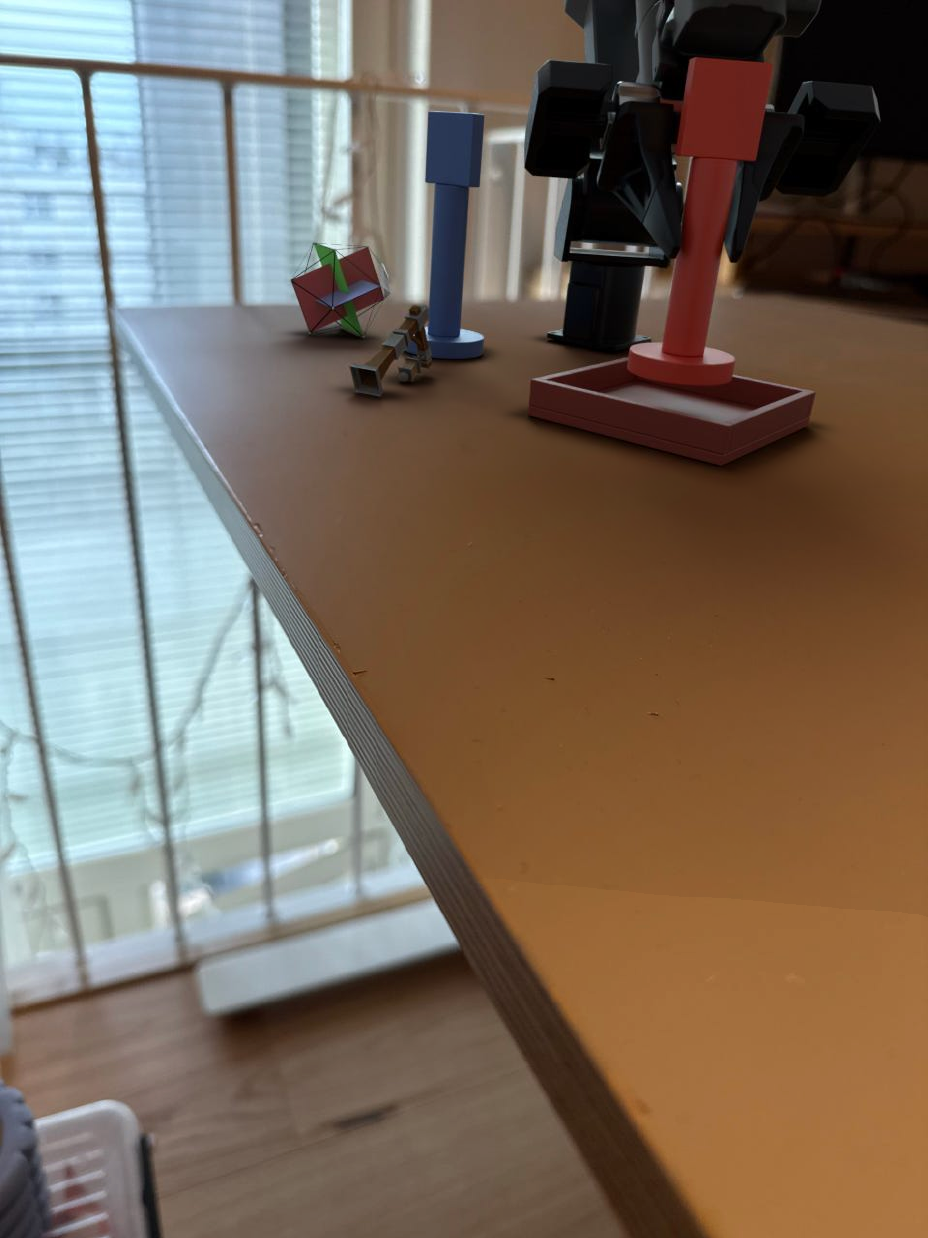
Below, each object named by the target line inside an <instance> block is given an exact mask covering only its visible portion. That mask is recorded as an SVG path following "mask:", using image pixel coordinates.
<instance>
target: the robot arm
mask: <svg viewBox="0 0 928 1238" xmlns="http://www.w3.org/2000/svg"><path fill="white" fill-rule="evenodd" d="M562 1H563V11H564V12H565V14H566V15H567V16H568V17H569V18H570V19H571V20H572V21H573V22H574V23H575V24H576V25H578V26H579V27H580V28H581V29H582V30H583V37H584V38H583V40H584V59H585V61H573V60H561V59H551V58H550V59H548V60H547V61H545V62H544V63H543V64H542V65H541V66H540V67H539V69H537V70H536V71H535V75H534V81H533V85H532V91H531V97H530V103H529V108H528V114H527V119H526V125H525V130H524V131H525V132H524V141H523V169H524V170H525V171H527V172H528V173H529V174H530V175H531V176H532V177H541V178H555V179H567V181H566V184H565V188H564V193H563V197H562V201H561V204H560V209H559V213H558V217H557V221H556V225H555V231H554V248H553V256H554V258H556V259H557V260H558V261H560V262H561V263H568V262H570V269H569V278H568V283H567V285H566V286H567V287H566V295H565V305H564V313H563V322H562V329H555V330H549V331H547V332H546V339H550V340H555V341H560V342H564V343H570V344H574V345H579V346H583V347H589V348H594V349H599V350H604V351H609V352H617V351H621V350H622V351H623V350H626V349H630V347H631V346H633V345H636V344H640V343H651V342H652V339H653V338H652V337H651V336H647V335H642V334H636V333H637V328H638V327H637V326H638V322H639V321H638V320H639V314H640V306H641V300H642V299H641V298H642V294H643V293H642V292H643V286H644V278H645V272H646V267H653V268H654V267H655V268H659V269H663V270H667V269H668V268H670V267H671V263H672V260H676V257H677V255H678V253H679V251H680V248H681V222H682V216H683V210H684V203H685V200H684V190H683V189H684V188H683V185H682V183H681V182H679V181H678V178H677V172H676V170H677V168H678V164H677V161H676V156H675V153H676V147H677V140H678V133H679V127H680V120H681V113H682V107H683V100H684V93H685V87H686V80H687V73H688V67H689V60H690V59H692V58H696V57H700V58H713V59H725V60H738V61H750V62H763V63H766V61H765V54H764V53H765V50H766V49H767V47H768V45H769V44H770V43H771V41H772V40H773V38H774V37H776V38H777V37H787V38H800V37H801V36H802V35H803V33H804V32H805V31H806V30H807V28H808V27H809V25H810V24H811V23H812V22H813V20H814V19H815V17H816V16H817V15H818V13H819V10H820V8H821V5H822V0H562ZM880 116H881V115H880V110H879V103H878V98H877V96H876V93H875V91H874V88H873V86H872V85H864V84H852V83H841V82H828V81H816V80H815V81H814V80H810V81H802V84H801V86H800V87H799V90H798V91H797V93H796V95H795V98H794V99H793V101H792V103H791V105H790V107H789V109H788V111H787V112H781V111H780V112H779V111H775V106H774V105H773V104H770V103H766V108H765V113H764V119H763V124H762V129H761V135H760V140H759V145H758V151H757V156H756V160H755V161H742V160H737V161H738V166H737V171H736V177H735V182H734V188H733V194H732V199H731V205H730V210H729V216H728V222H727V227H726V233H725V238H724V244H723V246H724V249H725V253H726V255H727V258H728V261H729V263H731V264H738V263H739V261H740V259H741V257H742V256H743V254H744V250H746V249H745V248H746V245H747V241H748V238H749V235H750V232H751V227H752V225H753V221H754V218H755V215H756V214H755V213H756V212H757V208H758V207H757V206H758V204H759V202H760V203H762V202H764V201H767V200H768V199H769V198H770V197H772V195H773V193H774V191H775V190H776V191H778V192H779V193H780V194H781V195H791V196H802V197H814V198H815V197H816V198H825V197H828V196H829V195H832V194H833V193H836V192H837V191H838V190H839V188H840V187H841V185H842V184H843V182H844V181H845V179H846V177H847V176H848V175H849V173H850V171H851V169H852V168H853V166H854V165H855V163H856V161H857V160H858V158H859V157H860V155H861V154H862V152H863V151H864V149H865V147H866V145H867V144H868V143H869V141H870V139H871V138H872V136H873V135H874V133H875V132H876V130H877V129H878V127H879V125H880V124H881V117H880ZM572 243H585V244H599V245H601V244H602V245H616V246H626V247H627V246H628V247H629V246H631V247H642V248H648V252H640V251H628V250H612V249H598V248H584V247H583V248H582V247H571V245H572Z"/></svg>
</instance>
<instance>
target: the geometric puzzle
mask: <svg viewBox="0 0 928 1238" xmlns="http://www.w3.org/2000/svg"><path fill="white" fill-rule="evenodd" d="M332 245H335V246H341V244H338V243H337V244H336V243H332ZM347 246H349V247H347V248H345V250H350V249H351V250H353V247H355V249H359V250H357V251H355V252H352V253H350V254H347V255H345V256H344V255H343V254H342V253H340V252H339V250H340V251H341V250H343V248H332V247H328V246H326V242H325V243H323V242H315V241H312V244H311V246H310V248H309V249H308V251H310V253H309V256H308V259H307V264H306V268H305V269H304V270H303V271H302V272H300V273H299V274H297V275H295V274H296V272H298V269H299V268H300V266H301V265H302V262H303V261H304V259H305V258H306V256H307V254H308V253H306V254H305V256H304V257H303V259H302V261H301V263H300V264H299V266H298V267H297V269H296V271H295V272H294V274H293V275H292V277H291V278H289V282H290V283H291V285H292V288H293V291H294V294H295V296H296V299H297V302H298V305H299V308H300V310H301V313H302V316H303V318H304V322H305V323H306V327H307V329H308V334H309V335H311V334H317V335H322V333H320V332H324V331H329V330H334V329H338V328H339V329H340V328H344V329H346V330H348V331H350V332H352V333H354V334H356V335H357V336H358V337H359V338H360V337H361V338H365V337H366V336H365V335H366V334H367V332H368V329H369V328H368V327H369V326H371V324H372V322H373V321H374V318H375V317H373V318H372V321H371V317H372V315H373V311H374V309H375V306H376V305H378V304H383V302H384V301H385V300H386V298H387V297H389V296H390V295H391V290H390V285H389V283H388V282H390V277H389V273H388V270H387V268H386V267H385V264H384V263H382V262H381V260H380V259H379V258H378V257H377V255H376V254H375V253H374V252H373V251H372V249H371V248H370V246H369V245H366V246H365V245H361V246H355V245H351V244H347ZM313 248H315V251H316V254H317V257H318V260H317V261H316V262H314V263H313V264H312V265H310V266H309V262H310V259H311V256H312V251H313ZM337 253H338V254H339V255H340V256H341V257H340V258H339V257H338V254H337ZM372 255H373V256H372ZM373 257H374V258H375V261H376V262H377V263H378V265H379V266H380V267H379V268H380V279H379V275H378V273H377V269H376V266H375V264H374V261H373ZM318 263H320V266H319V267H318V268H315V269H313V270H311V271H308V272H307V270H309V269H310V268H312V267H313V266H315V265H317V264H318ZM308 266H309V267H308ZM303 273H304V274H303ZM387 281H388V282H387ZM366 308H367V309H366ZM380 308H381V306H379V308H378V309H377V311H376V313H375V315H377V313H378V312H379V309H380ZM364 309H366V310H364ZM371 309H372V311H371V312H370V317H369V319H368V322H367V325H366V327H365V330H364V333H363V329H362V327H361V324H360V321H359V318H358V317H360V316H361V315H363V314H364V313H366V312H367V311H369V310H371ZM362 310H364V311H363V312H361V313H359V314H357V312H359V311H362ZM338 321H339V322H338ZM370 321H371V322H370ZM333 323H336V324H337V325H339V326H334V327H329V328H324V327H327V326H329V325H332V324H333ZM369 324H370V325H369ZM322 328H324V329H322ZM328 335H332V336H337V334H335V333H334V334H333V333H328ZM343 336H344V337H345V336H347V337H352V335H349V334H345V335H344V334H343Z"/></svg>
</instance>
